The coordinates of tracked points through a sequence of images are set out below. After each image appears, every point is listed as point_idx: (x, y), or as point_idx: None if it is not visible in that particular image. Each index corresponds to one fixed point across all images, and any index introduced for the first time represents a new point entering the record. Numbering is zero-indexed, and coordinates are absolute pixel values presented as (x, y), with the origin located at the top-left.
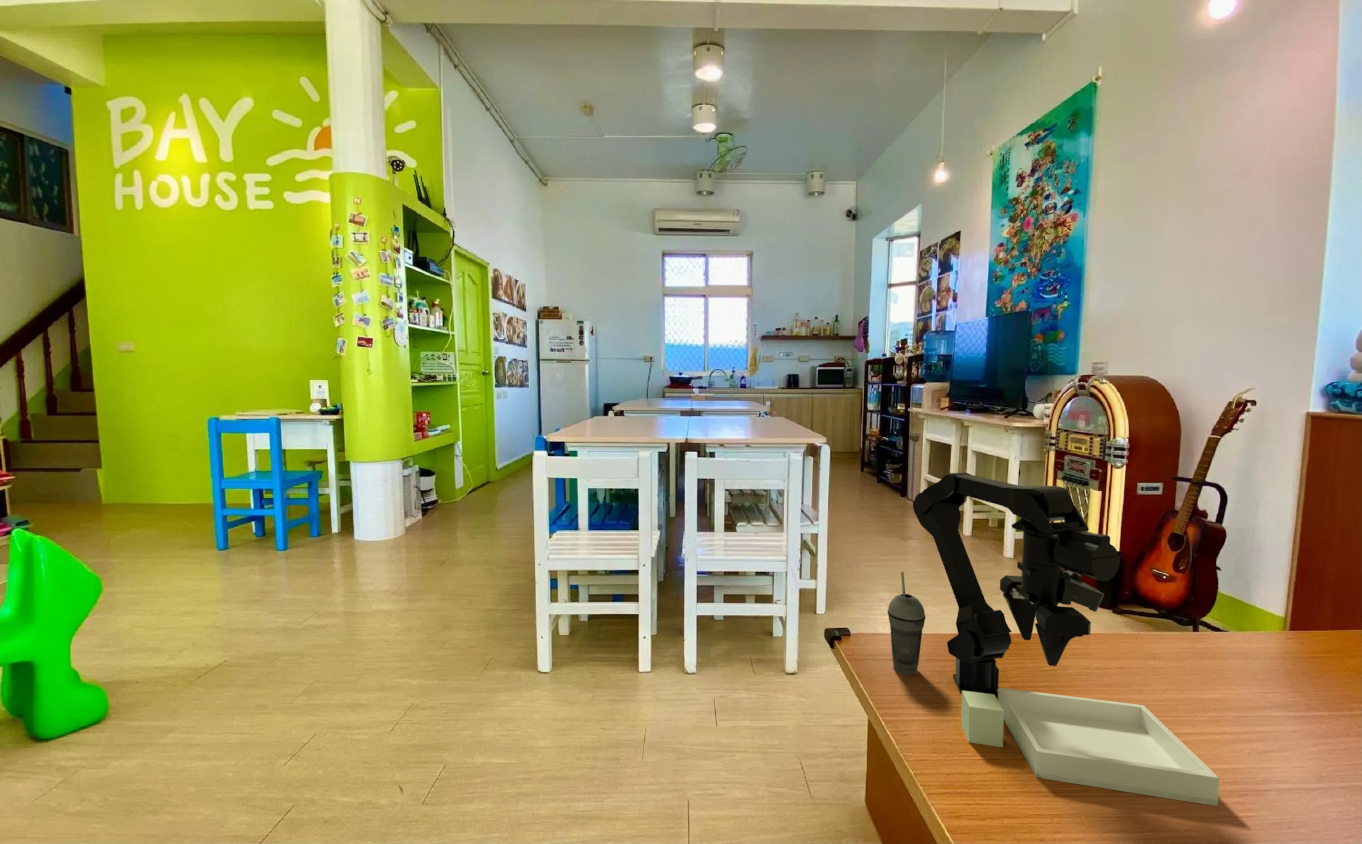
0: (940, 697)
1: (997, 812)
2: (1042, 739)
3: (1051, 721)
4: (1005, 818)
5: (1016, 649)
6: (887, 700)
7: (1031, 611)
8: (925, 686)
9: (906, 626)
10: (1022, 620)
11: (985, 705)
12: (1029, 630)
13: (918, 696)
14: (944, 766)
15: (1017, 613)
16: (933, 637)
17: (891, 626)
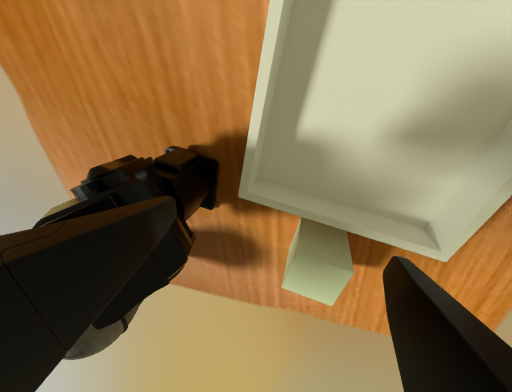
0: (227, 236)
1: (467, 308)
2: (349, 174)
3: (297, 120)
4: (481, 308)
5: (18, 5)
6: (242, 289)
7: (17, 289)
8: (203, 239)
9: (133, 314)
10: (109, 278)
11: (330, 285)
12: (145, 223)
13: (229, 258)
14: (371, 306)
15: (76, 322)
16: (56, 156)
17: None
